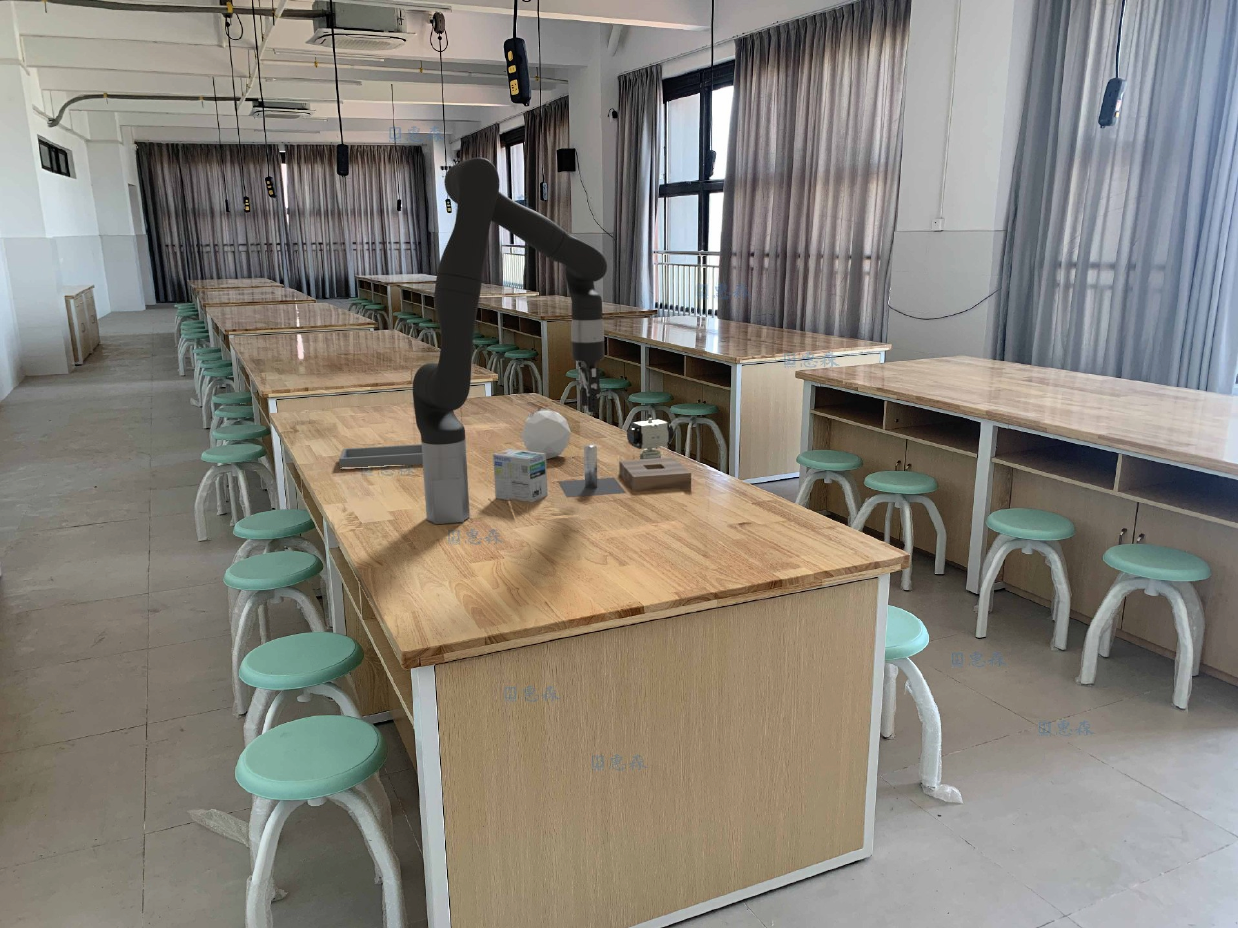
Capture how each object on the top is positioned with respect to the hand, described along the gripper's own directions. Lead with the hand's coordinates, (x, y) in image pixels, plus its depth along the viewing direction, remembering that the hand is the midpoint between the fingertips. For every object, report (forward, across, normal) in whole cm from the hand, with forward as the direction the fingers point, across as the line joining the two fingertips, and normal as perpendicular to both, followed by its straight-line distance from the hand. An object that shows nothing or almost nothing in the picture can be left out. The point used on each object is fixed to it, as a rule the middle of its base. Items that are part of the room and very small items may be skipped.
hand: (589, 408), depth 210 cm
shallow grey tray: (+20, +41, +49) cm, 67 cm away
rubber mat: (+20, 0, 0) cm, 20 cm away
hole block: (+20, +2, -16) cm, 25 cm away
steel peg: (+19, 0, 0) cm, 19 cm away
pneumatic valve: (+20, +21, -20) cm, 35 cm away
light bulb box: (+20, -3, +17) cm, 26 cm away
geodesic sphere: (+20, +35, +6) cm, 41 cm away
